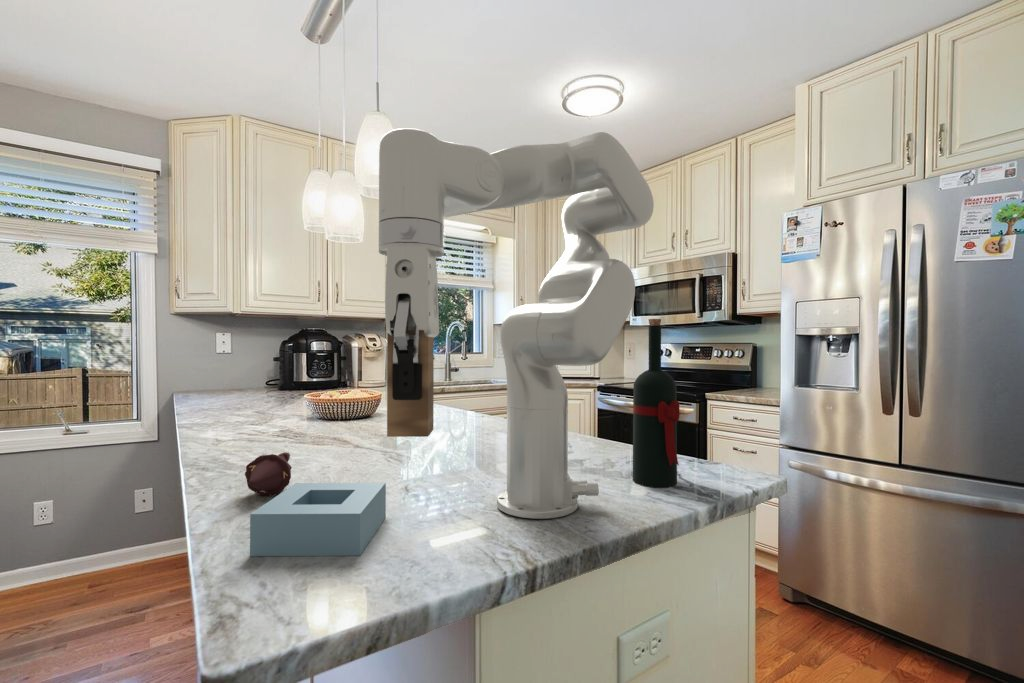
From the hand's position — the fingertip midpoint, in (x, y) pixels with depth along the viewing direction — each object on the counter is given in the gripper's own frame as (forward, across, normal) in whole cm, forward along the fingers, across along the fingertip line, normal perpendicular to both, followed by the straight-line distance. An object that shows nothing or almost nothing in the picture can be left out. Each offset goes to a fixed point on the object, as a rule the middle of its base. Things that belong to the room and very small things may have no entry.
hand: (411, 395), depth 57 cm
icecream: (+20, +26, +28) cm, 43 cm away
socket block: (+19, +8, +13) cm, 24 cm away
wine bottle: (+20, +30, -40) cm, 54 cm away
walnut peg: (+4, 0, 0) cm, 4 cm away
